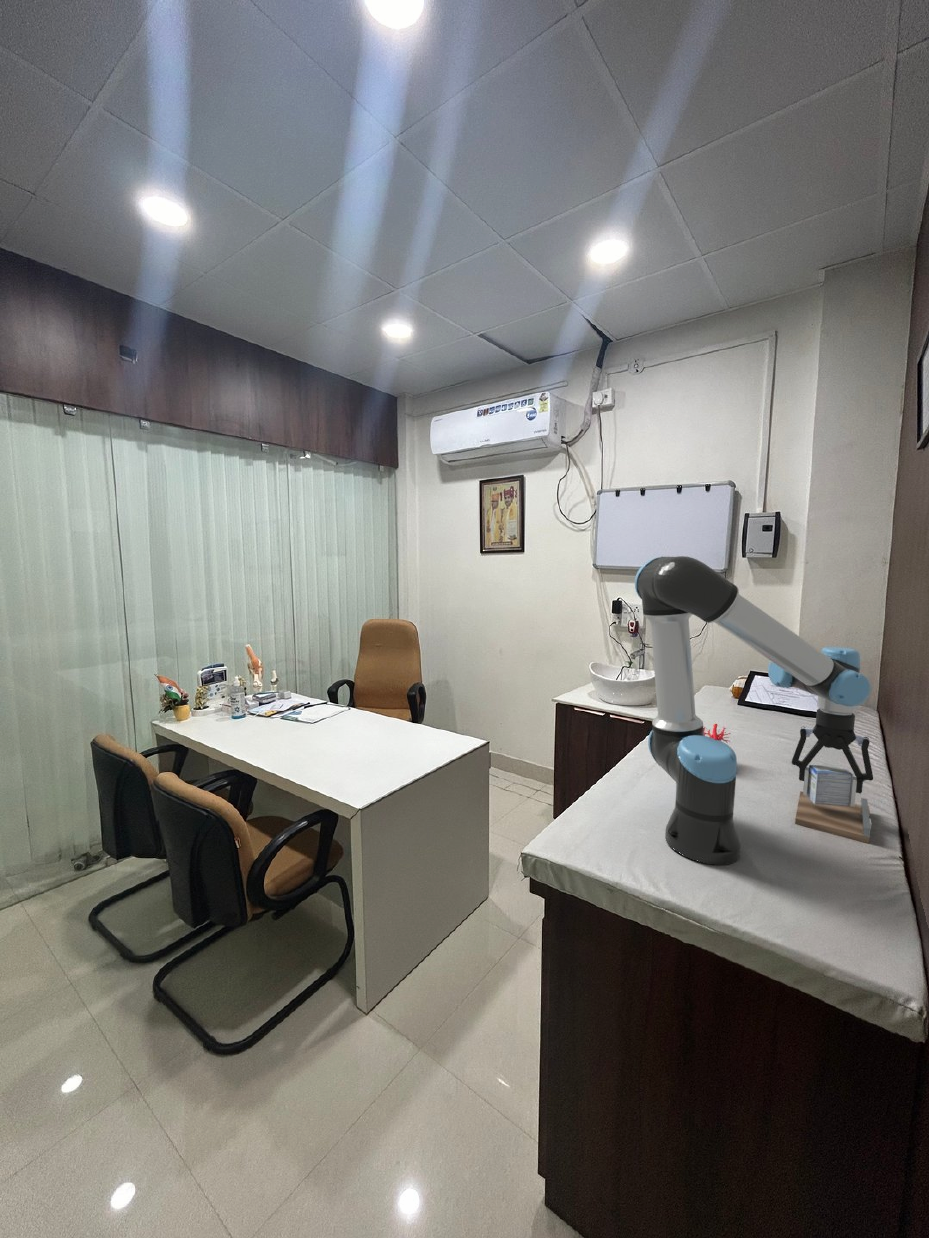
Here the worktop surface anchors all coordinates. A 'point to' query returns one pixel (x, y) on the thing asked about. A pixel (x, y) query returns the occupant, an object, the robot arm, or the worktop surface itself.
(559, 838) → the worktop surface
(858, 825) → the shelf board
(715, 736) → the red branching piece
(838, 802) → the medicine box
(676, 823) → the robot arm
